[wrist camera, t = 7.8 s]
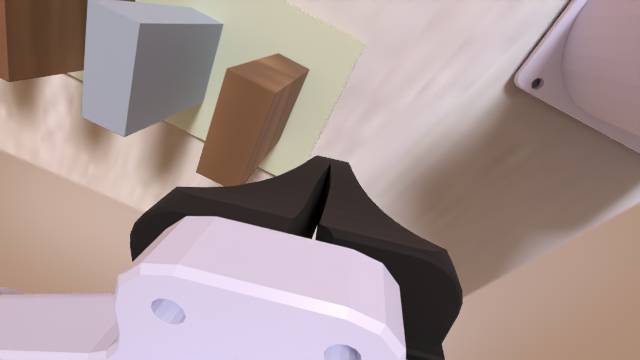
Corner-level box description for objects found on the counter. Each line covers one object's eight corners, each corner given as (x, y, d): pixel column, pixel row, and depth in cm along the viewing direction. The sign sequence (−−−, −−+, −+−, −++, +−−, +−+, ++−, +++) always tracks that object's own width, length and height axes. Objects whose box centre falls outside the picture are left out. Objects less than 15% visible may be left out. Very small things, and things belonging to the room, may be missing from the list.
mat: (365, 43, 15) (365, 44, 15) (296, 182, 20) (295, 185, 19) (-131, -222, 14) (-141, -227, 13) (-91, -8, 18) (-98, -8, 18)
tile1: (309, 69, 16) (275, 93, 10) (279, 140, 18) (237, 192, 12) (278, 53, 16) (226, 68, 10) (251, 126, 18) (195, 172, 12)
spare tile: (223, 23, 16) (139, 23, 10) (203, 101, 18) (124, 137, 12) (191, 7, 16) (87, -3, 10) (174, 87, 18) (81, 116, 12)
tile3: (138, -21, 15) (2, -47, 10) (126, 63, 17) (8, 82, 12) (104, -38, 15) (-53, -75, 10) (96, 48, 17) (-37, 60, 12)
